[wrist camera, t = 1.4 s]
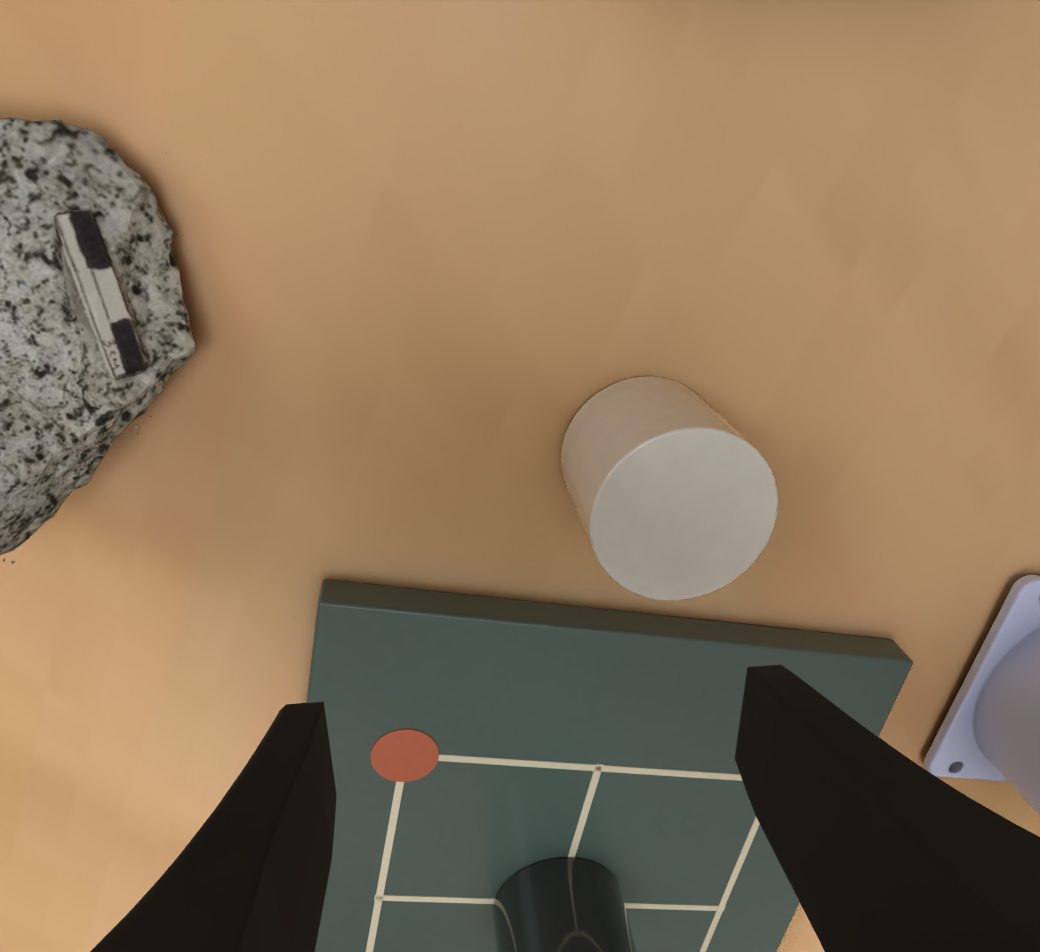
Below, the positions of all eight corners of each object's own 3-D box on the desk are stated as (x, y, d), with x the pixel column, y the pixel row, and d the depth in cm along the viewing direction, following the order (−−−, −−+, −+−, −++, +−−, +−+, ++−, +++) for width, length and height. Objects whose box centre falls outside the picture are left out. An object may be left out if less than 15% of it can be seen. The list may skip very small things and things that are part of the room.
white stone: (737, 389, 21) (805, 443, 17) (692, 533, 22) (745, 611, 19) (580, 363, 20) (617, 413, 16) (545, 514, 21) (570, 591, 18)
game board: (893, 638, 25) (916, 663, 24) (699, 1063, 33) (710, 1096, 32) (322, 578, 21) (317, 602, 20) (265, 1067, 30) (259, 1104, 29)
